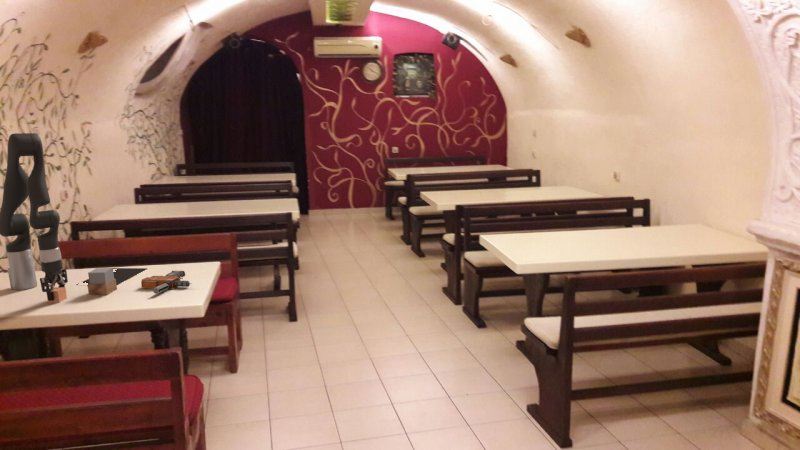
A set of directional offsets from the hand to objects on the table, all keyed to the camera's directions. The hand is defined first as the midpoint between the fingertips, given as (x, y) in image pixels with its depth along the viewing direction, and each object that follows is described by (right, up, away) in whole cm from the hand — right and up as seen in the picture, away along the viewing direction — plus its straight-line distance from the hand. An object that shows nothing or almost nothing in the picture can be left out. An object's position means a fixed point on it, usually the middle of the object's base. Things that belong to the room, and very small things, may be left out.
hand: (57, 297), depth 243 cm
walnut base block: (+15, +1, +9) cm, 17 cm away
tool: (+43, +3, +16) cm, 46 cm away
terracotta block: (0, -1, 0) cm, 1 cm away
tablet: (+8, +5, +32) cm, 34 cm away
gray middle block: (+14, +6, +8) cm, 18 cm away
